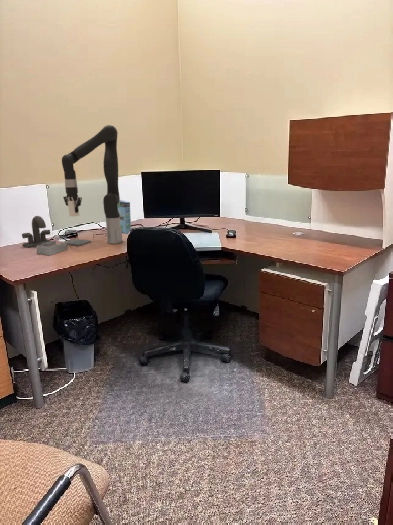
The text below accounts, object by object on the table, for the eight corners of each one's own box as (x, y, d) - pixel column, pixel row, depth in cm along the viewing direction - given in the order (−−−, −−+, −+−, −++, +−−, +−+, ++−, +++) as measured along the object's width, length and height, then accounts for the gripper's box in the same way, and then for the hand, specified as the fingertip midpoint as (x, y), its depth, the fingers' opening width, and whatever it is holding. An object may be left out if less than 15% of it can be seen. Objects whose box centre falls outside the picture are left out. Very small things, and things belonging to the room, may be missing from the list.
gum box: (113, 229, 319) (110, 199, 312) (118, 228, 322) (116, 199, 316) (125, 233, 305) (123, 202, 298) (131, 232, 308) (130, 202, 301)
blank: (74, 216, 272) (72, 201, 269) (69, 216, 273) (67, 200, 270) (79, 215, 276) (77, 200, 273) (74, 214, 278) (73, 199, 275)
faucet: (33, 250, 264) (29, 219, 258) (21, 246, 274) (17, 216, 268) (59, 244, 276) (55, 215, 270) (47, 241, 287) (43, 212, 281)
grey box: (67, 249, 265) (66, 241, 264) (49, 255, 252) (48, 247, 251) (55, 247, 270) (54, 240, 268) (37, 253, 257) (36, 245, 255)
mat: (91, 242, 283) (90, 240, 282) (79, 246, 272) (79, 244, 272) (75, 240, 289) (74, 238, 288) (62, 244, 278) (62, 242, 278)
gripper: (58, 186, 268) (61, 212, 274) (76, 187, 263) (78, 214, 268) (66, 185, 275) (69, 210, 280) (83, 185, 269) (86, 212, 274)
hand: (74, 212), depth 274 cm, fingers closed on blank, 4 cm apart
